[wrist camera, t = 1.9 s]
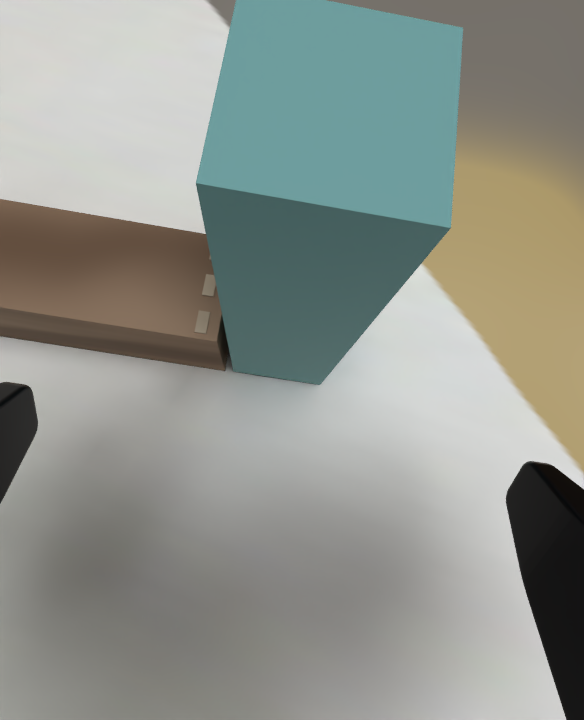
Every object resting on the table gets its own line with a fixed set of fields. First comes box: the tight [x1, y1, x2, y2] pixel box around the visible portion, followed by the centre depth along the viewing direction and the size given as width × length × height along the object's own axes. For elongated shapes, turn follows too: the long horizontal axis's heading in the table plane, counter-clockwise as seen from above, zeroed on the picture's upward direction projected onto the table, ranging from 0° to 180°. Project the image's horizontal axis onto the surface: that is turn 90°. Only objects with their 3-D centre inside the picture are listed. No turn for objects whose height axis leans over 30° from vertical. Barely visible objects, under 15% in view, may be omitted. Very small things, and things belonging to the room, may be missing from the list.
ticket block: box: [0, 199, 229, 371], centre depth 18 cm, size 4×14×5 cm, turn 82°
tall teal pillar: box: [196, 0, 463, 385], centre depth 14 cm, size 4×4×14 cm
